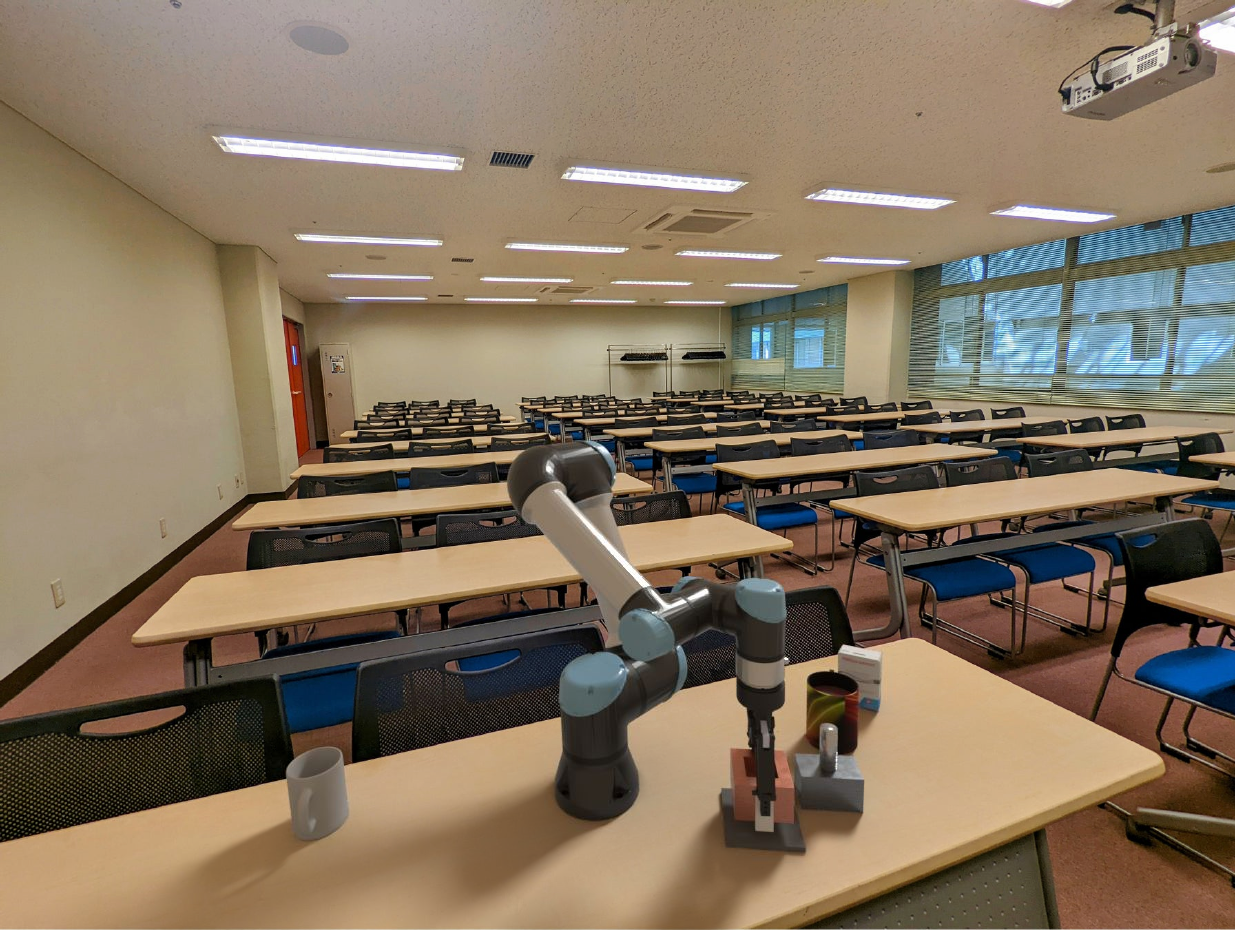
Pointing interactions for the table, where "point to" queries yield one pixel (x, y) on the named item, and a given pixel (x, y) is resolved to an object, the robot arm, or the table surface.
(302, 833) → the mug
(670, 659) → the robot arm
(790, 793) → the red square hollow block
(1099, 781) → the table surface
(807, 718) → the mug
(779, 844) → the mat
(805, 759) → the toggle switch
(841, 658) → the ink box
